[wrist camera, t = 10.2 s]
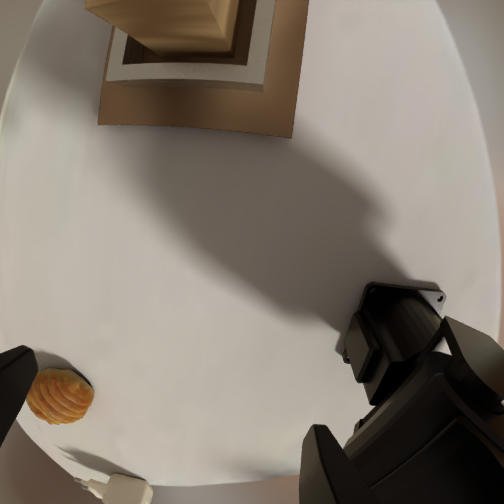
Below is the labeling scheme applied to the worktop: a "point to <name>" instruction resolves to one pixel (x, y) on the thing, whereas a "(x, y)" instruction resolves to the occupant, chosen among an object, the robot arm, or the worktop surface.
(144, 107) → the plate
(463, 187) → the worktop surface
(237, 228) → the worktop surface
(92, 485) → the power adapter
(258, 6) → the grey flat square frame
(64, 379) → the pastry
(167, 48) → the rail post
